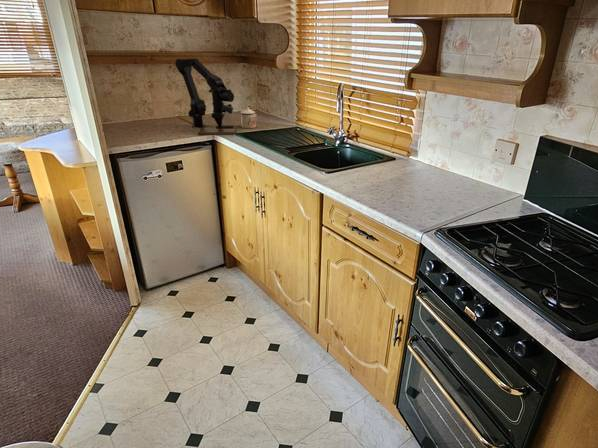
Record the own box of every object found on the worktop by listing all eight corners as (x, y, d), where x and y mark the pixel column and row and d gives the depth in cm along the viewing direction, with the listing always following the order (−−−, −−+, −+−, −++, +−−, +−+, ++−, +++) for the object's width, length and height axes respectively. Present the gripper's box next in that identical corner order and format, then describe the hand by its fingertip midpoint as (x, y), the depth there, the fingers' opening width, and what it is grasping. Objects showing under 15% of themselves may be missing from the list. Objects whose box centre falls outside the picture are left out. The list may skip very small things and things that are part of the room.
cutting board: (200, 131, 236) (200, 129, 235) (235, 131, 239) (235, 128, 238) (198, 135, 228) (198, 132, 227) (234, 134, 230) (234, 131, 230)
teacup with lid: (249, 129, 244) (247, 109, 239) (238, 127, 248) (236, 107, 244) (262, 126, 253) (261, 106, 248) (251, 124, 258) (250, 105, 253)
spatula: (203, 130, 239) (203, 127, 238) (205, 128, 244) (204, 125, 244) (232, 129, 241) (232, 126, 241) (233, 127, 247) (233, 124, 246)
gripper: (230, 102, 229) (232, 130, 235) (233, 98, 246) (235, 124, 252) (209, 103, 227) (213, 130, 234) (214, 98, 244) (217, 124, 251)
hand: (220, 127), depth 243 cm, fingers closed on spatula, 2 cm apart
